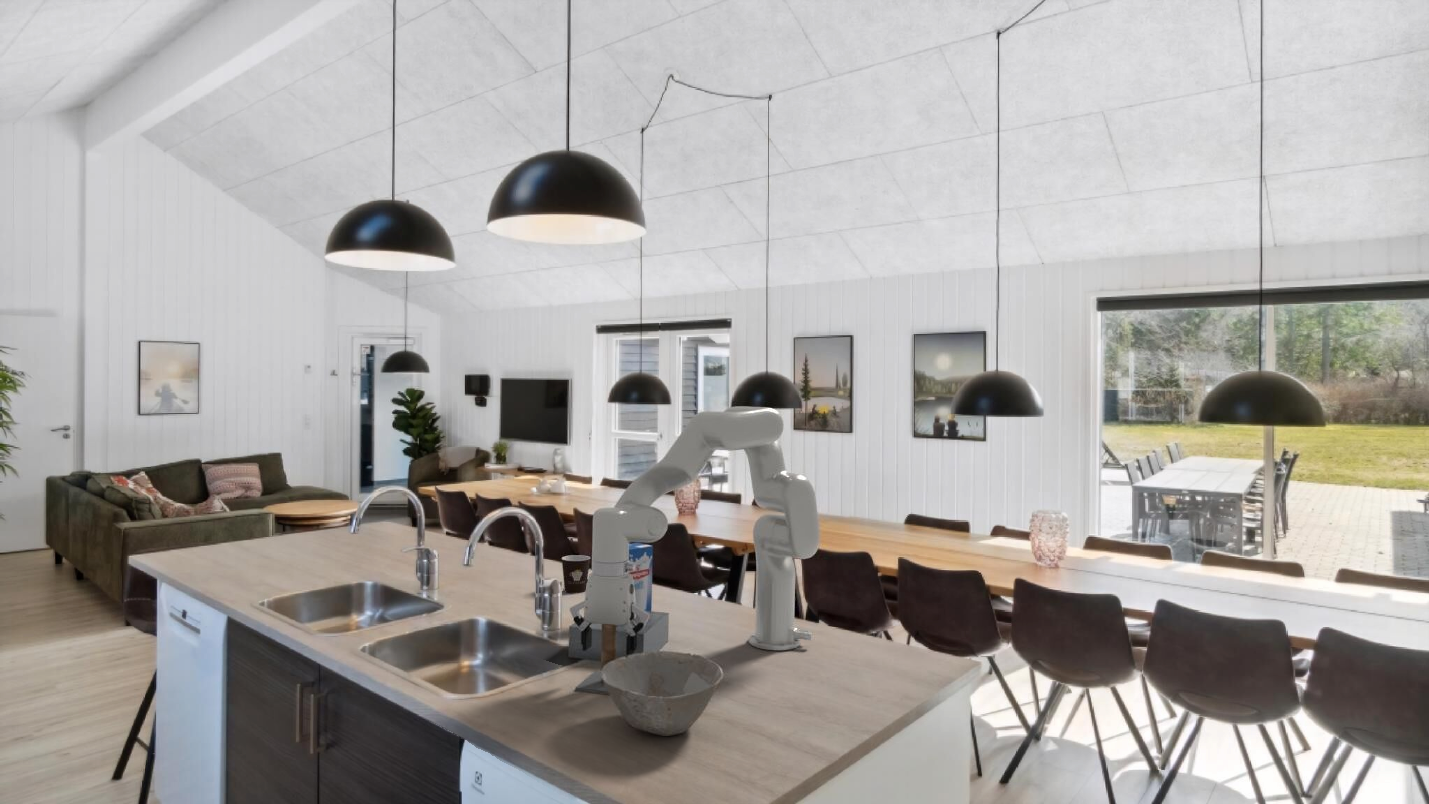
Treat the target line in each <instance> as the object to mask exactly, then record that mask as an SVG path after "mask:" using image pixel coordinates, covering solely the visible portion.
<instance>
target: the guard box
mask: <svg viewBox="0 0 1429 804" xmlns="http://www.w3.org/2000/svg"><path fill="white" fill-rule="evenodd" d="M646 612H648V613H649V614H650V617H649V619H648V621H647V622H646V624H645V626H644V627H643V628H642V629H641V630H640V631H639V632H638V633H637V648H636V650H635V651H634V652H633V653H632V654H636V653H639V654H641V653H643V652H650V653H652V652H653V651H654V652H657V651H661V649H662V648H663V647H664V646H666V644H667V643H669V629H670V628H669V626H670V625H669V623H670V621H669V619H670V613H669V612H665V611H664V612H662V611H652V610H651V611H646ZM582 617H583V618H584V616H582ZM584 620H585V618H584ZM633 621H634V622H635V623H636V625H637V624H638V623H639V621H640V617H639V616H638V615H636V617H635V619H634V620H633ZM590 628H591V629H592V646H591V647H590V648H589V649H587V650H586V651H583V650H582V646H583V645H581V631H580V630H579V627H578V625H577V624H576V623H575V622H574V623H572V624H571V625H568V658H573V659H582V660H589V661H600V662H601V647H602V624H595V623H592V624H591V625H590ZM628 635H629V633H628V632H627V630H626V629H625V628H624V626H616V659H617V658H620V657H624V656H625V657H628V655H626V644H627V636H628ZM632 654H631V655H632Z"/></svg>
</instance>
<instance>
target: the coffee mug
mask: <svg viewBox="0 0 1429 804" xmlns="http://www.w3.org/2000/svg"><path fill="white" fill-rule="evenodd" d="M590 561H591V557H590V556H588V555H584V554H583V555H582V554H579V555H576V554H575V555H573V554H571V555H566V556H562V557H561V564H562V576H563V586H564V592H565V591H566V592H565V593H568V594H582V593H586V587H587V582H588V577H589V570H590V568H592V561H591V562H590Z"/></svg>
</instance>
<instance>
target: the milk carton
mask: <svg viewBox="0 0 1429 804" xmlns="http://www.w3.org/2000/svg"><path fill="white" fill-rule="evenodd" d="M653 549H654V546H653V545H652V544H651V545H650V544H646V543H643V542H631V543H629V560H630V564H633V565H635V570H634V571H629V573H628V574H632V576H633V581H634V588H635V599H636V605H637V606H638V607H640V608H642V609H643V610H645V611H652V604H653V603H652V601H653V599H652V598H653V596H652V595H653V556H654V555H653V551H654V550H653Z"/></svg>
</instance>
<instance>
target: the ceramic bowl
mask: <svg viewBox="0 0 1429 804" xmlns="http://www.w3.org/2000/svg"><path fill="white" fill-rule="evenodd" d="M600 672H601V678H602V680H603V683H604V685H605V687H606V689H607V691H608V693H609V694H610V695H609V694H608V695H609V696H610V699H611V700H612V702H613V703H614V705H615V707H616V709H617V710H618V711H619V712H620V714H621V716H623V718H624V719H625V720H626V722H627V723H628V724H629V725H630V726H632V727H633V728H635V729H637V730H639V731H643V732H645V733H650V734H653V735H658V736H662V737H670V736H675V735H680V734H683V733H685V732H687V731H688V730H689V729H690V728H691V727H693V725H694V724H695V723H696V722H697V720H698V719H699V718H700V717H701V716H702V714H703V713H704V711H706V710H705V709H706V708H707V706H708V705H709V702H710V701H711V699H712V697H713V695H714V693H715V692H716V690H717V688H718V686H719V685H720V683H721V681H722V680H723V678H724V672H723V669H722V668H721V666H720V665H719V664H717V663H716V662H714V661H712V660H710V659H709V658H707V657H704V656H703V655H699V654H695V653H694V654H691V652H690V653H685V652H677V651H669V650H668V651H665V650H662V651H661V650H659V651H657V652H654V651H653V652H652V653H650V652H643V653H641V654H639V653H636V654H632V655H628V657H625V656H624V657H620V658H617V659H615V660H613V661H610V662H609V663H607V664H606V665H604V667H603V668H602V670H600Z"/></svg>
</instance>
